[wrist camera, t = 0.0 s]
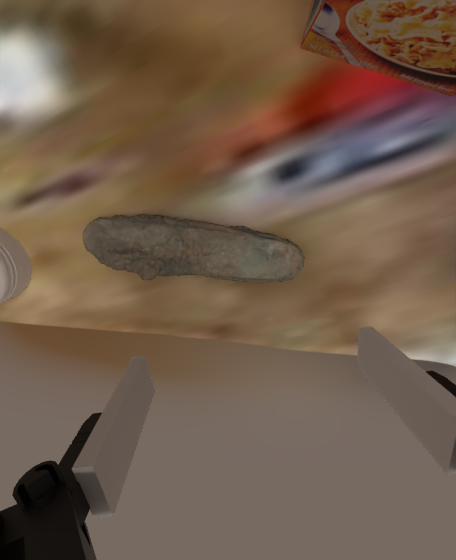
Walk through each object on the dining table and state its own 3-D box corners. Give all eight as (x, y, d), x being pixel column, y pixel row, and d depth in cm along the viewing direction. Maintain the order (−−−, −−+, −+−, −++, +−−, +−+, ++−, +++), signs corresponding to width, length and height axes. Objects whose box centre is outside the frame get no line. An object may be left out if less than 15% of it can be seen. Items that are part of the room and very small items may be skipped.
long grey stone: (291, 286, 46) (301, 231, 43) (302, 295, 41) (314, 234, 38) (89, 268, 41) (88, 206, 39) (73, 276, 36) (71, 205, 34)
